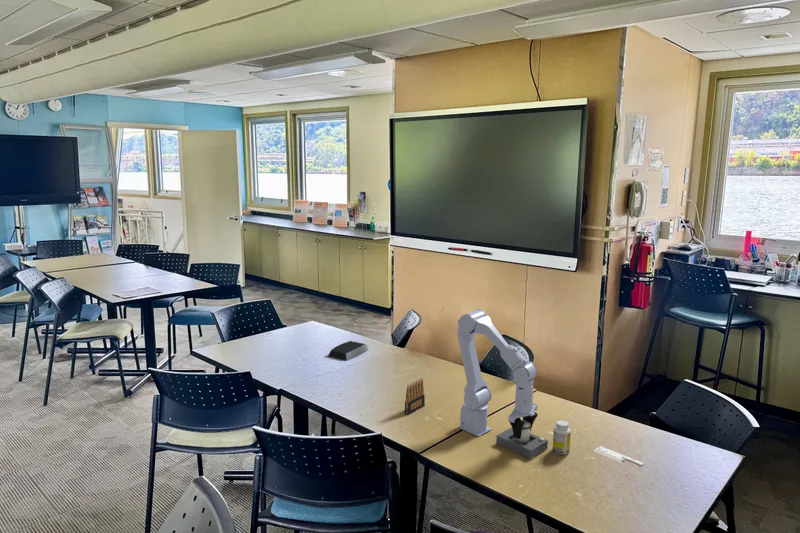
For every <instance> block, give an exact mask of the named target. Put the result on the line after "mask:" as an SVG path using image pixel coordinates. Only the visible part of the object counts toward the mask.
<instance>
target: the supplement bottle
mask: <svg viewBox="0 0 800 533" xmlns="http://www.w3.org/2000/svg"><path fill="white" fill-rule="evenodd" d="M569 424H570V423H569V422H568V421H565V420H557V421H556V424H555V426H554V427H553V436H552V450H553V453H555V454H558V455H567V454H569V453H570V450H571V436H572V435H571V434H572V433H571V432H572V431H571V428H570V425H569Z"/></svg>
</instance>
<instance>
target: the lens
mask: <svg viewBox="0 0 800 533" xmlns="http://www.w3.org/2000/svg"><path fill="white" fill-rule="evenodd" d="M521 421H524V422H525V423H524V425H523V428H522V433H521V438H520V439H517V438H515V437H514V440H515V441H516V442H519V443H528V442H529V440H530V433H531V431H530V427H531V424H530V422H528V421H526V420H523V419H521Z"/></svg>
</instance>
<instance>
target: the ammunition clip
mask: <svg viewBox="0 0 800 533" xmlns="http://www.w3.org/2000/svg"><path fill="white" fill-rule="evenodd" d="M424 393H425V388H424V379H423V377H421V378H420V379H418V380H416V381H413V382H412V383H410V384H407V386H406V392H405V401H404V415H406V416H409V414H410V415H412V414H413V413H415V412H416V410H417V411H418V409H419V410H420V409H422V408H424V407H425V406H426V405H425V404H426V403H425V401H426V400H425V394H424Z"/></svg>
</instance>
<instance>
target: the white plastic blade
mask: <svg viewBox="0 0 800 533" xmlns="http://www.w3.org/2000/svg"><path fill="white" fill-rule="evenodd" d="M593 452H594V453H596V454H599V455H601V456H604V457H607V458H609V459H610V460H614V461H616V462H619V463H621V464H622V462H625V461H628V460H629V461H628V462H630V463H634V464H635V465H638V466H640V467H642V466H644V465H643V464H645V463H644V462H642V461H640V460H637V459H634V458H632V457H629V456H627V455H625V454H623V453H622V454H621V453H620V452H617V451H614V450H611V449H609V448H607V447H605V446H601V445H599V446H597V447H596V448H595V449H594V451H593ZM625 459H626V460H625Z"/></svg>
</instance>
